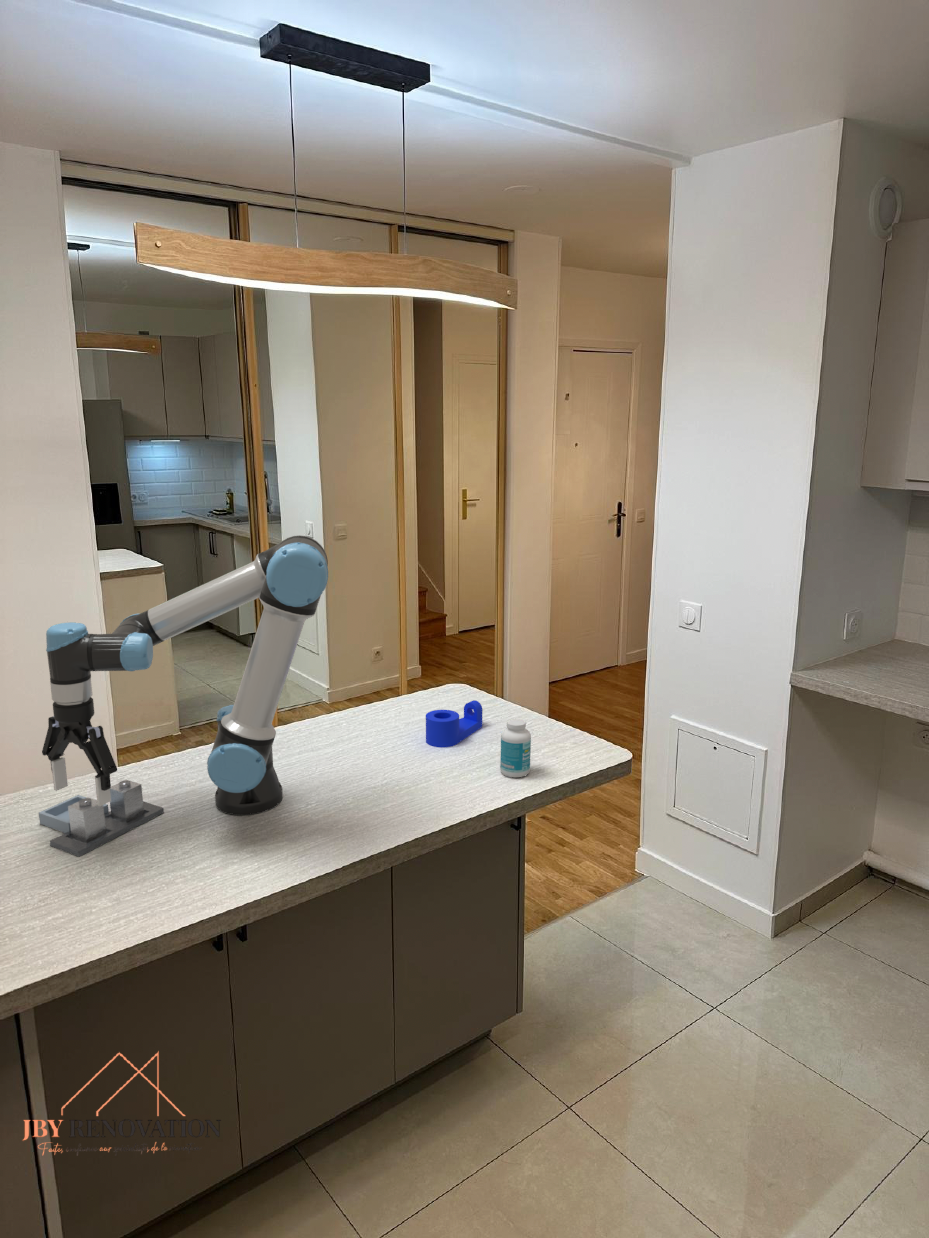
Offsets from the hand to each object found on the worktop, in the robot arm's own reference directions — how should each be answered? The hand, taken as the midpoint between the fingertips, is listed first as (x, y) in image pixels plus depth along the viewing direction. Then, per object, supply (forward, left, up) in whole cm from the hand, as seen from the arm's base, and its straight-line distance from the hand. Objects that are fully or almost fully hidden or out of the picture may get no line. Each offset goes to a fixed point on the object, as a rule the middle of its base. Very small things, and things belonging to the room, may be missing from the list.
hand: (82, 795), depth 178 cm
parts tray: (+10, -4, -10) cm, 14 cm away
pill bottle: (-64, -74, -10) cm, 99 cm away
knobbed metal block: (0, 0, -10) cm, 10 cm away
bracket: (-39, -88, -10) cm, 97 cm away
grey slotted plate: (0, -5, -10) cm, 11 cm away
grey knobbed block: (0, -10, -10) cm, 14 cm away
